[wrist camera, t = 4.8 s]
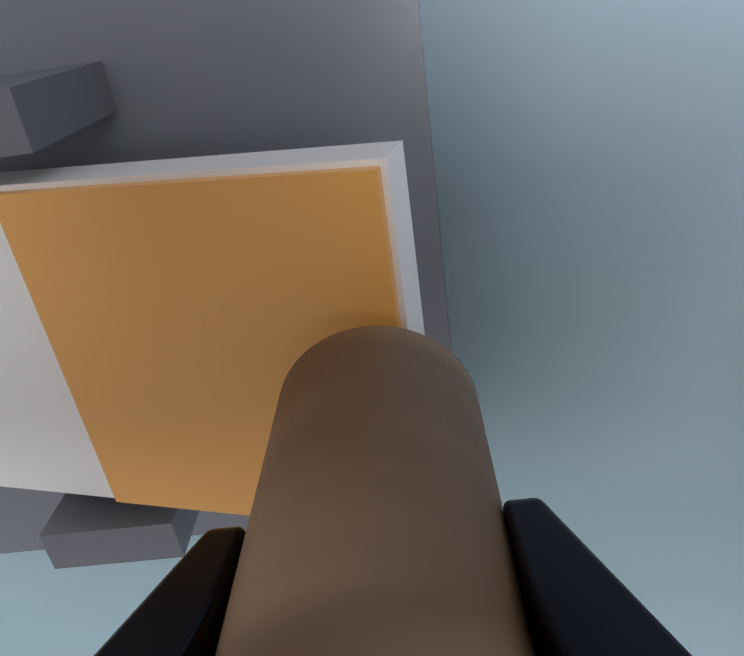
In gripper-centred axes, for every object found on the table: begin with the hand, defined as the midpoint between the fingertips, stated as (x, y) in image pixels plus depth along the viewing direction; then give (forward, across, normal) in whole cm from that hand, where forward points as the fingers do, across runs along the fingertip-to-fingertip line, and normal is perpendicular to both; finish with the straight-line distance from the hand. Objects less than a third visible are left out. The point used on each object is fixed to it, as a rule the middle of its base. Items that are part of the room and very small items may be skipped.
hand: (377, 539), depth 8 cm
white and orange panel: (+6, +6, 0) cm, 9 cm away
